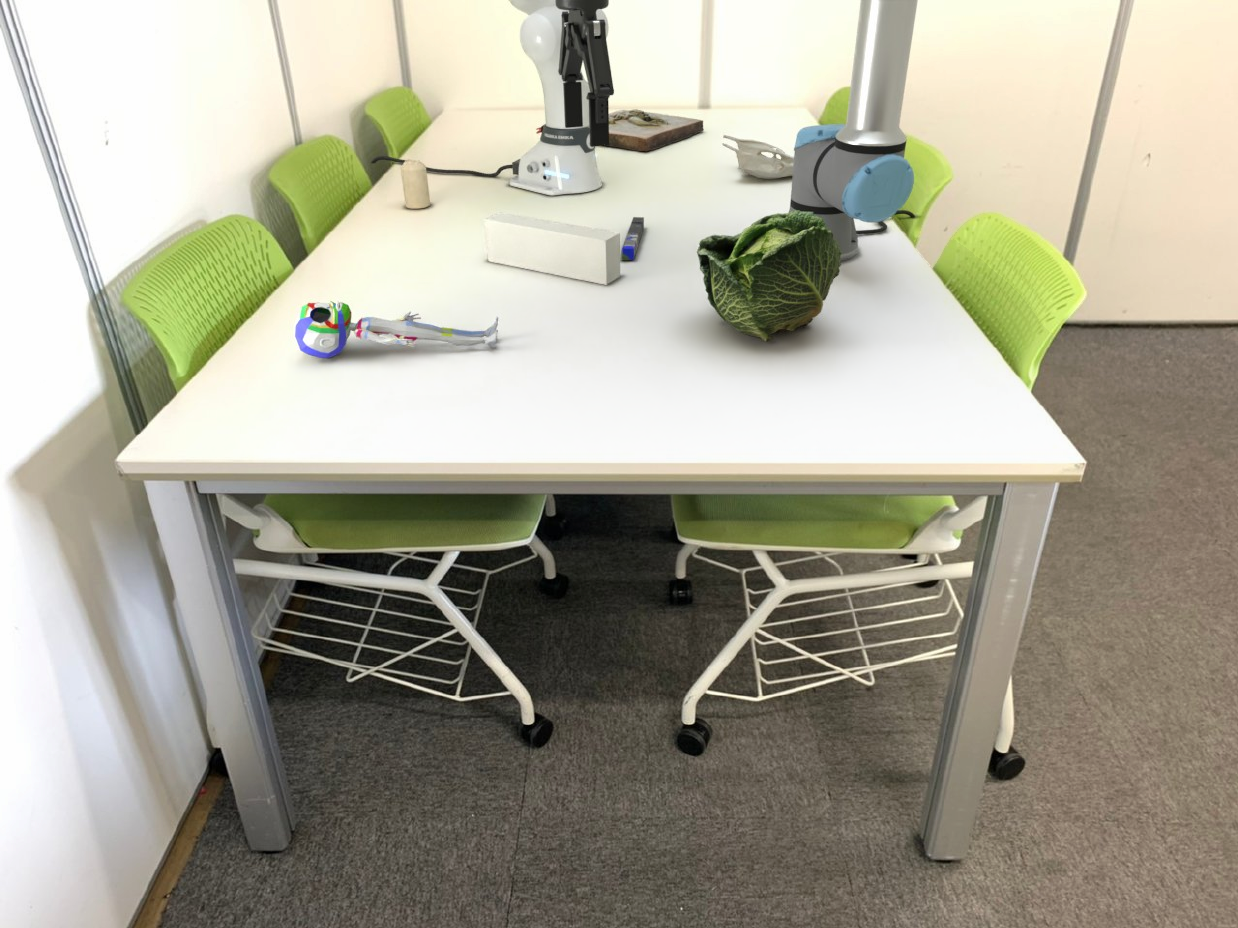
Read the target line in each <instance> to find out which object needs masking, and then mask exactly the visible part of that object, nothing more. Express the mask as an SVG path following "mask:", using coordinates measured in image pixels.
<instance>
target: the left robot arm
mask: <svg viewBox="0 0 1238 928" xmlns="http://www.w3.org/2000/svg"><path fill="white" fill-rule="evenodd" d="M508 1H509V3H510V4H511V5H512V6H513V7H514V8H515V9H516V10H518V11H520V12H522V13H524V14H527V15H528V16H526V17H525V19H523V21H522V23H521V25H520V29H519V41H520V45H521V48H522V51H523V53H525V55H526V56H527V57H528V58H529V60H531V61H532V63H533V64H534V66H535V68H536V71H537V73H538V76H539V81H540V83H541V88H542V93H543V104H544V105H543V106H544V118H545V119H544V120H545V121H544V122H545V123H544V124H543V125H541V126H540V127H537V128H535V130H536V132H535V133H536V134H540V138H539V141H538V142H536V143H535V144H534V145H533V146H532V147H530V149H529V150H527V151H526V152H525V153H524V154H523V155H522V156H521V157H520V158H519V159H517V160H515V161H512V162H511V163H512V164H505V165H502V166H500V167H498V169H497V170H496V171H495V172H493V173H485V172H480V171H476V170H470V169H441V168H433V167H428V166H426V172H430V173H436V174H451V175H452V174H454V175H455V174H457V175H458V174H459V175H473V176H478V177H483V178H495V177H498V176H500V174H501V173H502V172H503V171H505V170H510V169H512V175H514V176H513V177H512V178H511V179H510V180H509V186H511V187H514V188H517V189H518V188H519V189H523V190H527V191H531V192H535V193H539V194H543V195H545V196H559V195H568V194H569V195H570V194H582V193H588V192H592V191H595V190H598V189H600V188H601V187H602V186H603V183H602V180H601V178H600V177H601V176H600V173H599V168H598V163H597V157H598V155H597V154H596V146H595V147H591V146H590V129H589V100H587V98H586V97H587V94H588V93H590V89H589V85H588V80H587V79H585V76H584V75H583V71H582V70H581V72H580V73H582V76H583V78H582V79H583V80H580V81H576V82H581V85H582V115H583V127H571V128H566V127H565V112H564V89H563V83H565V82H563V80H562V75H559V72H558V70H559V58H560V46H561V33H562V17H561V15H562V12H564V11H569V10H561V9H558V8H557V7H556V3H555V0H508ZM603 10H604V9H598V10H597V11H596V15H597V20H603V19H604V20H605V23H606V26H605V28H606V39H607V38H608V36H609V28H610V27H609V21H608V18H607V15H606V13H605V11H603ZM382 160H383V161H390V162H394V163H398V164H403V163H404V162H405V161H406V160H407V159H401V158H396V157H392V156H386V155H380V156H379V155H378V156H376V157H375V158H373V159H372V160H371V162H370V164H376V163H377V162H379V161H382Z"/></svg>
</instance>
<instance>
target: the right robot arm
mask: <svg viewBox="0 0 1238 928" xmlns="http://www.w3.org/2000/svg"><path fill="white" fill-rule="evenodd" d="M918 1H919V0H860V2H859V3H860V4H859V12H858V18H857V20H858V21H857V28H856V37H855V45H854V46H855V47H854V54H853V61H852V62H853V63H852V71H851V81H850V87H849V88H850V89H849V96H848V104H847V105H848V106H847V113H846V114H847V115H846V122H845V124H843V123H842V124H841V123H840V124H839V123H838V124H837V123H836V124H834V123H833V124H817V125H811V126H810V125H809V126H806V127H802V128H800V129H799V130H798V132H797V134H796V138H795V144H794V147H793V151H794V154H793V157H794V165H793V176H791V177H792V179H791V190H790V191H791V192H790V204H789V210H788V212H787V213H790V212H792V211H793V210H797V211H798V210H799V211H801V212H813V213H814V215H815V216H817V217H819V218H822V219H823V221H824V222H825V226H826V229H827V231H830V230H831V232H832V234H833V235H834V239H835V241H836V242H837V243H838V245H839V249H840V251H841V253H842V254H841V256H840V262H843V261H844V262H845V261H847V260H850V259H852V258H854V257H855V256H856V255H857V253H858V247H859V239H858V235H869V234H879V233H883V232H885V231H886V230H887V229H888V225H887V223H885V222H884V221H885V220H887V219H889V218H892V217H893V216H897V215H906V216H909V217H910V218H912V219H915V218H916V215H915V214H914V213H913V212H912V211H910V210H906V209H902V208H903V207H904V205H905V204H906V203H907V201H908V200H909V198H910V196H911V193H912V191H913V188H914V183H915V174H914V169H913V167H912V166H911V164H910V162H909V160H907V159H906V158H905V152H906V145H907V139H908V138H907V137H908V136H907V135H906V133H905V132H904V131H903V130H902V129H901V127H900V123H901V117H902V110H903V103H904V97H905V89H906V83H907V77H908V69H909V61H910V57H911V50H912V49H911V48H912V43H913V35H914V28H915V21H916V15H917V8H918ZM555 3H556V7H557V8H558V9H561V10H569V11H564V12H562V15H561V17H562V33H561V46H560V58H559V70H558V72H559V75H562V80H563V82H565V83H563V89H564V112H565V127H566V128H571V127H583V115H582V85H581V82H576V81H580V80H583V79H582V78H583V77H584V75H583V76H582V74H583V72H582V73H580V72H581V71H582V67H583V66H584V72H585V75H586V81H587V82H588V85H589V89H590V93H588V94H587V97H586V98H587V100H589V129H590V146H591V147H595V148H596V147H605V146H606V145H609V114H610V111H609V99H610V97H611V96H614V94H615V89H614V83H613V76H612V69H611V63H610V56H609V50H608V42H607V38H606V28H605V26H606V23H605V20H604V19H603V20H597V15H596V11H597V10H598V9H602V10H605V9H606V8H608V7H609V5H610V4H609V3H610V0H555ZM855 220H859V221H861V222H864V223H872V224H873V223H878V224H879V226H881V227H880V228H875V229H860V230H857V228H856V224H855V223H856V222H855Z"/></svg>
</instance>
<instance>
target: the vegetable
mask: <svg viewBox="0 0 1238 928" xmlns="http://www.w3.org/2000/svg"><path fill="white" fill-rule="evenodd" d="M698 245H699V246H698V248H697V251H696V253H697V258H698V262H699V270H700V272H701V273H702V274H703V278H702V279H703V284H704V287H705V292H706V293H707V300H708V302H709V304H710V306H711V307H712V308H713V309H714V310H715V312H716V313H717V315H718V316H719V317H720V319H721V320H723V322H727V323H728V324H729V325H730V326H731V328H733V329H734V330H736V331H737V332H739V333H740V334H741V333H742V334H743V335H747V336H750V337H757V338H760V339H762V340H763V342H768V340H769V339H772V340H773V339H774V337H773V336H772V335H773V334H775V333H776V332H778V331H779V330H786V331H790V332H793V331H794V330H795V329H796V328H798V327H808V324H810V323H812V322H813V320H814V318H815V317H817V316H818V315H820V313H822V312H821V311H822V309H823V306H824V301H825V300H826V298H827V297H828V295H829V292H830V289H831V285H832V284H833V282H834V280H835V278H837V277H838V276H839V275H840V267H841V266H842V264H841V261H840V256H841V254H842V253H841V251H840V249H839V245H838V243H837V242H836V241H835V239H834V235H833V234H832V232H831V230H830V231H827V229H826V226H825V222H824V221H823V219H822V218H819V217H817V216H815V215H814V213H813V212H801V211H799V210H798V211H797V210H793V211H792V212H790V213H788V212H785V213H774V214H769V215H766V216H764V217H762V218H759V219H758V220H756V221H754V222H753V223H751V224H750V226H747V227H746V228H744V229H743V230H742V231H741V233H737V234H736V235H725V234H722V235H719V234H712V235H710V236H707V237H704V238H703V239H701V240H700V241H699V243H698Z"/></svg>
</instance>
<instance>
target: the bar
mask: <svg viewBox="0 0 1238 928" xmlns="http://www.w3.org/2000/svg"><path fill="white" fill-rule="evenodd" d="M483 221H484V230H485V233H484V234H485V241H486V242H485V243H486V252H487V262H490V263H495V264H500V265H505V266H511V267H515V268H520V269H526V270H530V271H533V272H534V271H535V272H540V273H545V274H550V275H555V276H560V277H565V278H569V279H573V280H579V281H585V282H589V283H593V284H594V283H595V284H599V285H603V286H608V285H609V284H611V283H613V282H615V281H616V280H617V279H619V278H621V232H618V231H612V230H606V229H600V228H595V227H588V226H583V225H577V224H571V223H567V222H566V223H565V222H560V221H553V220H548V219H542V218H536V217H530V216H525V215H519V214H513V213H507V212H501V211H499V212H497V213H495V214H493V215H490V216H488V217H485V218H484V219H483Z"/></svg>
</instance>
